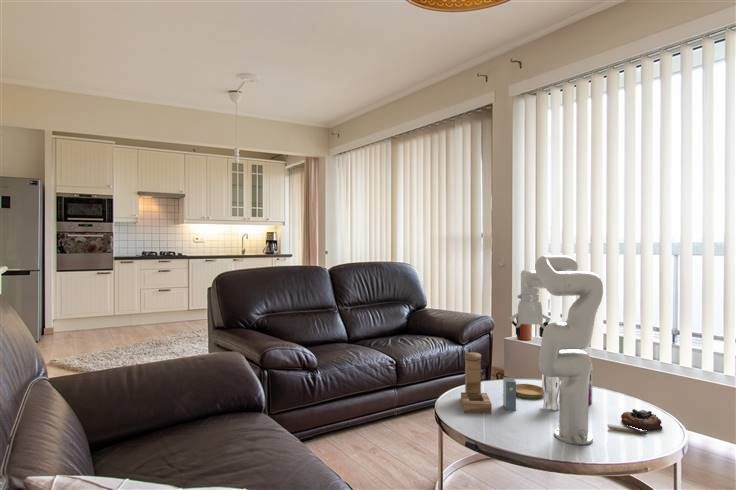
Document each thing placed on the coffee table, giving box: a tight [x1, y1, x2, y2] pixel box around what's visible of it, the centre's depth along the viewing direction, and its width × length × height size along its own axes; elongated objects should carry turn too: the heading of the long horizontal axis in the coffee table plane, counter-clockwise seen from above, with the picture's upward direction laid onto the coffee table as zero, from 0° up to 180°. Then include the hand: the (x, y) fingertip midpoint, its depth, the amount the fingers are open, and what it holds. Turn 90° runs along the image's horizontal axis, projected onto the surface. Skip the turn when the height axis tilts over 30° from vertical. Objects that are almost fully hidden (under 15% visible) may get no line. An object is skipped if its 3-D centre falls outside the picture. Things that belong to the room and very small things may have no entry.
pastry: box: [620, 408, 663, 432], centre depth 176 cm, size 11×12×6 cm
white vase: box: [541, 374, 561, 412], centre depth 194 cm, size 7×7×15 cm
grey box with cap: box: [502, 376, 517, 412], centre depth 194 cm, size 7×4×12 cm, turn 174°
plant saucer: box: [516, 383, 544, 399], centre depth 211 cm, size 15×15×3 cm
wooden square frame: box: [460, 351, 493, 415], centre depth 199 cm, size 20×11×20 cm, turn 174°
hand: (529, 336), depth 205 cm, fingers open, 9 cm apart
